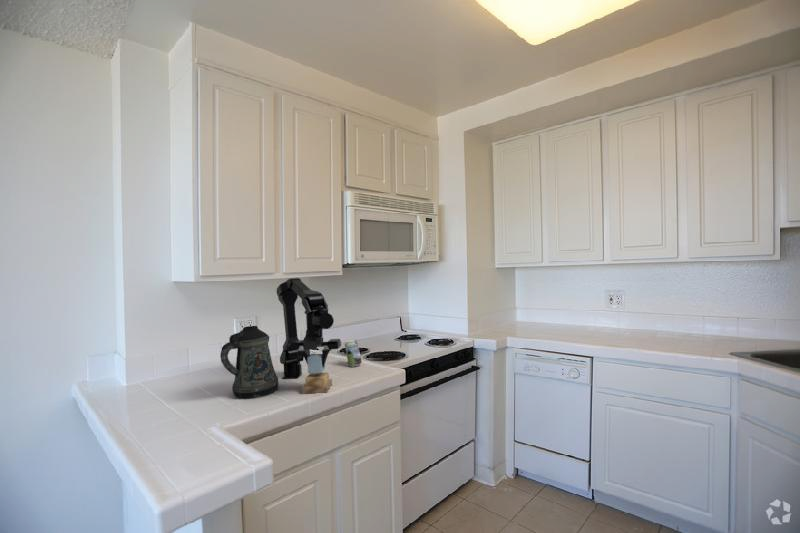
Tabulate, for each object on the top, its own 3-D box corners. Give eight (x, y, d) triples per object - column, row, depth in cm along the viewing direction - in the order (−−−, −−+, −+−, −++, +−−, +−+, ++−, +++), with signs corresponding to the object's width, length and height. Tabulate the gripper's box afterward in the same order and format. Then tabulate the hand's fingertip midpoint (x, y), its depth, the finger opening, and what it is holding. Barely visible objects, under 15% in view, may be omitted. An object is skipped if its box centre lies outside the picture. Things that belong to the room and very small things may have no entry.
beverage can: (360, 367, 172) (359, 341, 172) (344, 368, 172) (343, 341, 172) (362, 363, 178) (361, 338, 178) (346, 364, 178) (345, 339, 178)
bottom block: (302, 395, 139) (302, 387, 139) (309, 387, 148) (309, 380, 148) (326, 395, 139) (326, 386, 139) (332, 386, 148) (332, 379, 148)
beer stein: (287, 385, 150) (284, 322, 150) (256, 403, 132) (252, 332, 131) (251, 384, 155) (248, 323, 155) (216, 401, 136) (213, 331, 136)
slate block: (308, 373, 141) (307, 357, 141) (312, 369, 146) (311, 354, 146) (321, 373, 141) (320, 357, 141) (324, 369, 146) (324, 353, 146)
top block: (305, 386, 140) (305, 378, 140) (311, 380, 147) (310, 373, 147) (324, 386, 140) (323, 377, 140) (328, 380, 147) (328, 372, 147)
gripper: (282, 330, 136) (284, 374, 136) (333, 329, 135) (335, 372, 135) (293, 325, 147) (295, 365, 147) (340, 324, 146) (342, 364, 146)
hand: (316, 367), depth 144 cm, fingers closed on slate block, 5 cm apart
